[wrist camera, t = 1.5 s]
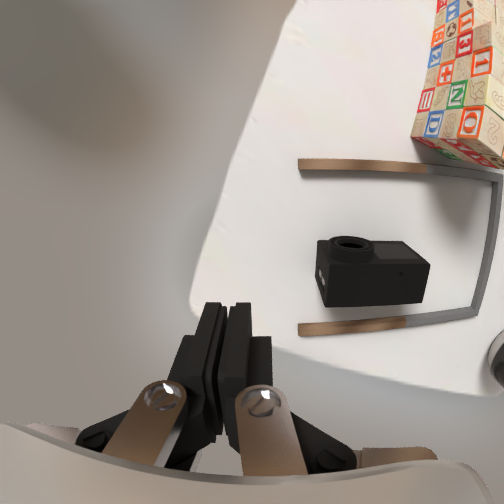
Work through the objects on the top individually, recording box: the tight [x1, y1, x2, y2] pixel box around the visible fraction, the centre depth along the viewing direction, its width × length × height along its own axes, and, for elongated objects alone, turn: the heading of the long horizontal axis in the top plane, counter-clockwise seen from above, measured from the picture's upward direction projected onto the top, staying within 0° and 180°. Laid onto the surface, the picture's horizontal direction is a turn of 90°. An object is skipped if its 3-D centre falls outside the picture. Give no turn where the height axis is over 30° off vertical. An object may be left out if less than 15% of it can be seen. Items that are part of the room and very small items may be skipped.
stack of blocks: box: [410, 0, 504, 169], centre depth 17 cm, size 21×6×12 cm, turn 164°
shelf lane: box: [298, 159, 427, 336], centre depth 30 cm, size 14×20×1 cm
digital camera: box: [315, 236, 430, 307], centre depth 28 cm, size 10×5×7 cm, turn 91°
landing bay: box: [404, 164, 503, 327], centre depth 29 cm, size 13×20×1 cm, turn 3°
